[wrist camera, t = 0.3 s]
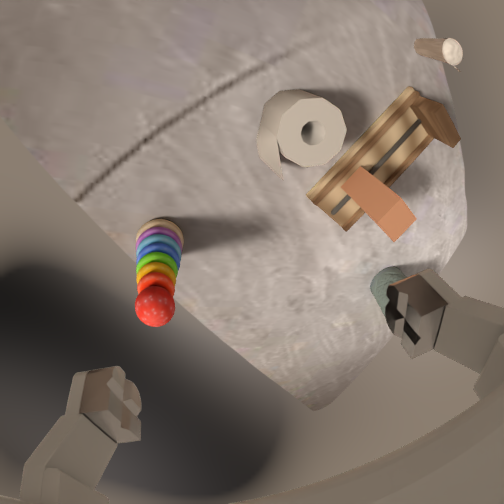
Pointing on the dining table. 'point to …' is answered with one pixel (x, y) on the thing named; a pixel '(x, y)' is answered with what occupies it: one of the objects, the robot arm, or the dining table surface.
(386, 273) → the green cup
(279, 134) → the toilet tissue
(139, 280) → the stacking toy
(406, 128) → the channel
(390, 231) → the panel
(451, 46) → the milkshake
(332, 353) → the dining table surface
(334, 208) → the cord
